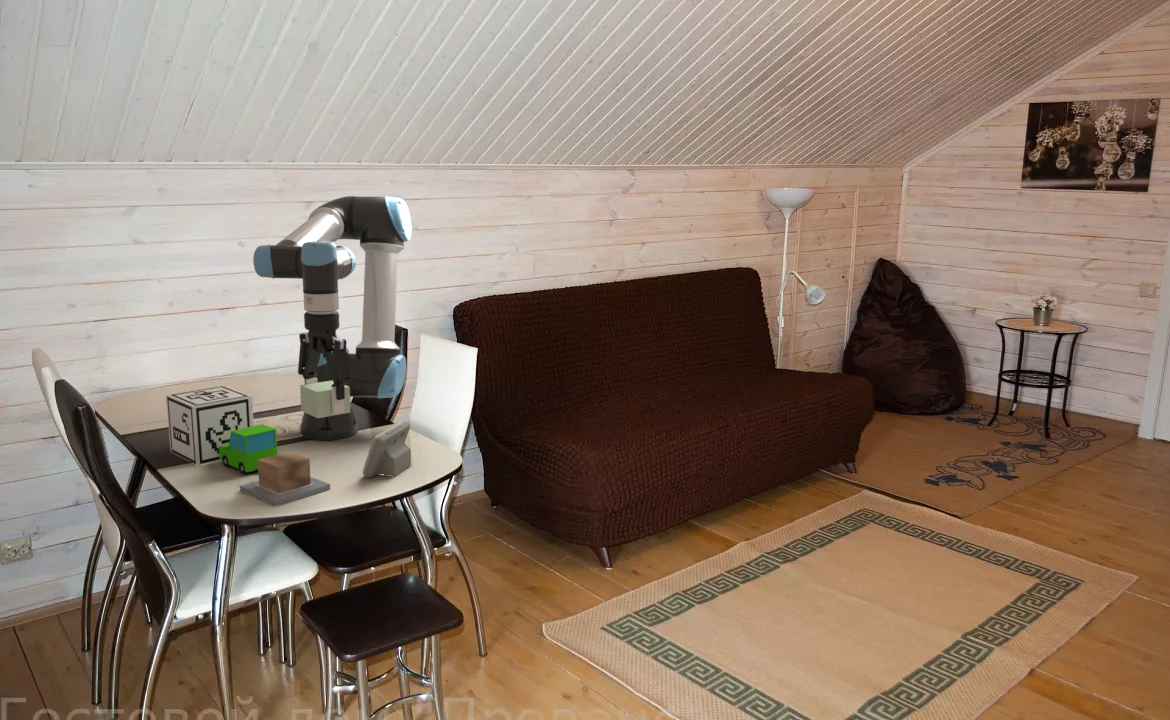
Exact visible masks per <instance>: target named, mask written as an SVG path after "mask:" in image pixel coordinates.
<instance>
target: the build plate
mask: <svg viewBox="0 0 1170 720" xmlns="http://www.w3.org/2000/svg"><path fill="white" fill-rule="evenodd" d="M310 479H311V484H309V485H306V486H303V487H299V488H296V489H293V490H289V491H286V492H283V493H277V492H275V491H272V490H270V489H267V488H265V487H263V486H260V485H259V480H257V481H253V482H252V481H251V482H248V483H245V484H242V485H239V491H240V492H241V493H244V494H245V495H246V494H247V495H249V496H251V497H253V496H254V498H256V499H259V500H260V499H261V501H263V502H266V503H268V504H270V505H273V506H275V507H278V506H280V505H284V504H287V503H290V502H293V501H296V500H300V499H303V498H306V497H310V496H313V495H317V494H319V493H322V492H326V491H329V490H331V483H328V482H326V481H323V480H320V479H318V478H316V477H315V478H314V477H312V476H310Z"/></svg>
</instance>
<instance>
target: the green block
mask: <svg viewBox="0 0 1170 720" xmlns="http://www.w3.org/2000/svg"><path fill="white" fill-rule="evenodd" d="M332 384H334V383H333V381H326V382H319V383H312V384H305V383H304V384H300V385H299V386H300V387H299V389H300V391H299V392H300V411H301V412H302V413H304V412H305V413H307V414H309V415H312V416H314V417H316V418H322V417H328V416H333V415H334V414H332V389H331V386H332ZM350 405H351V397H350V387H349V386H346V385H345V398H344V413H339V414H345V413H350ZM339 414H335V415H339Z"/></svg>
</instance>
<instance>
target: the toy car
mask: <svg viewBox="0 0 1170 720" xmlns="http://www.w3.org/2000/svg"><path fill="white" fill-rule="evenodd" d="M277 437H278V436H277V428H274V427H272V426H268V425H266V424H263V423H262V424H257V425H254V426H252V427H247V428H243V429H238V430H234V431H231V435H230V442H229V444H227V445H223V446H219V460H220V461H219V462H222V464H223V466H224V467H225V468H230V467H231V468H232V467H234V468H236V469H238V470H239V472H240V475H241V474H242V475H247V474H249V473H250V472H254V471H258V459H262V458H266V457H270V456H273V455H277V454H278V441H277V439H278V438H277Z"/></svg>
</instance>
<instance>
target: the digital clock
mask: <svg viewBox="0 0 1170 720" xmlns="http://www.w3.org/2000/svg"><path fill="white" fill-rule="evenodd" d="M410 428H411V425H410V422H409V421H407V420H403V421H399V422H397V423H396V424H394V425H392V426H391V427H388V428H387V429H385V430H384V431H382V432H380V433H378V434H377V435H375V436H374V437H373V439H372V442H371V445H370V447H369V451H368V453H367V457H366V460H365V463H364V466H363V469H362V475H363V477H364V478H367V477H368V478H373V477H375V474H384V475H391V476H395V475H396V476H398V475H399V474H400V473H402V472H403V471H405V470H407V469H408V468H409V467H411V466H410V465H412V452H411V448H410V447H409V446H408V445H407V444H406V440H407V437H408V434H409V431H410ZM407 467H408V468H407ZM404 469H405V470H404ZM401 471H402V472H401ZM398 473H399V474H398ZM372 476H373V477H372ZM391 476H390V477H391ZM396 476H395V477H396Z"/></svg>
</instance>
